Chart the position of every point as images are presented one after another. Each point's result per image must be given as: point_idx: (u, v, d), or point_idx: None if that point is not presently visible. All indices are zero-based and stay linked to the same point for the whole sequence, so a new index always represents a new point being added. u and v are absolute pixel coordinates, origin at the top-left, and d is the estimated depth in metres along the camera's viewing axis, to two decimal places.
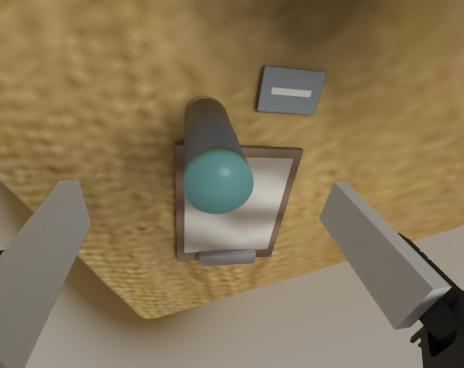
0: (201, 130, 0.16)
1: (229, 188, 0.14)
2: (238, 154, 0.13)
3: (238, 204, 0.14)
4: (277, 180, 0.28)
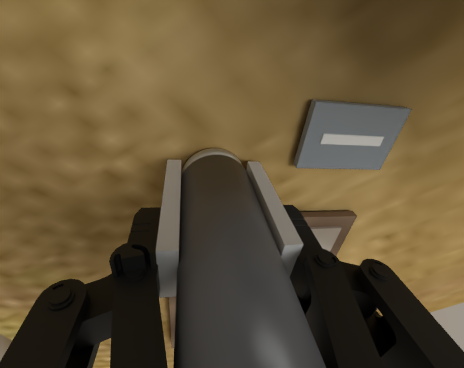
0: (213, 278, 0.07)
1: None
2: None
3: None
4: None
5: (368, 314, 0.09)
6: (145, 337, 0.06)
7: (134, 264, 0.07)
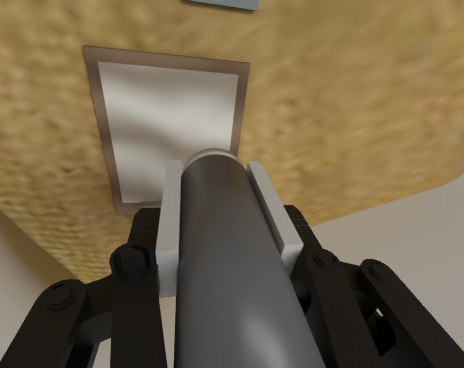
0: (213, 274, 0.07)
1: None
2: None
3: None
4: (222, 105, 0.23)
5: (368, 314, 0.09)
6: (145, 337, 0.06)
7: (134, 264, 0.07)
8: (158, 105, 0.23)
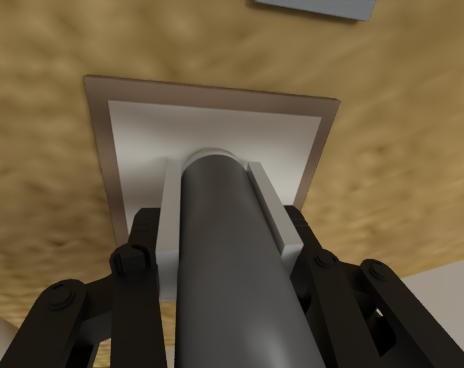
0: (213, 274, 0.07)
1: None
2: None
3: None
4: (290, 159, 0.16)
5: (368, 314, 0.09)
6: (145, 337, 0.06)
7: (134, 264, 0.07)
8: None
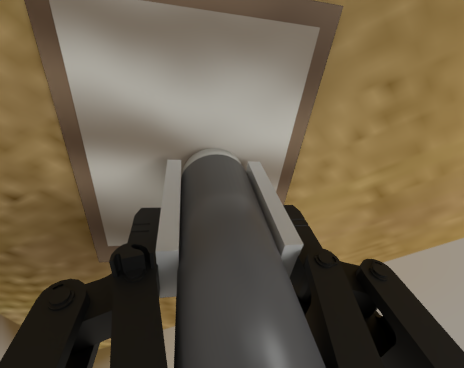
0: (213, 274, 0.07)
1: None
2: None
3: None
4: (283, 87, 0.13)
5: (368, 314, 0.09)
6: (145, 337, 0.06)
7: (134, 264, 0.07)
8: (169, 84, 0.12)
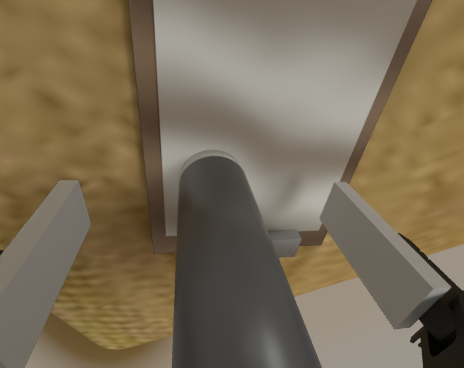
0: (210, 275, 0.07)
1: None
2: None
3: None
4: (368, 64, 0.13)
5: None
6: None
7: None
8: (256, 60, 0.12)
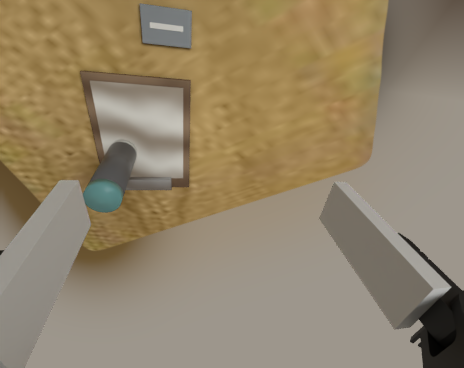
0: (100, 168, 0.29)
1: (108, 199, 0.27)
2: (111, 182, 0.27)
3: (116, 207, 0.28)
4: (174, 108, 0.35)
5: None
6: None
7: None
8: (130, 108, 0.34)
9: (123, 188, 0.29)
